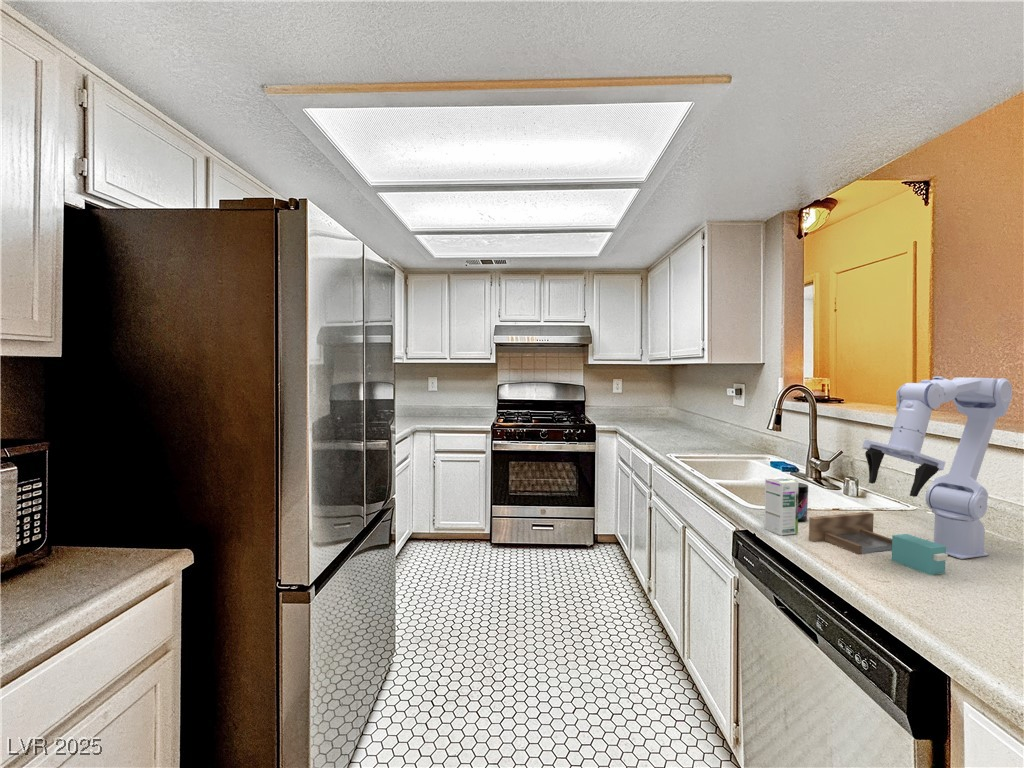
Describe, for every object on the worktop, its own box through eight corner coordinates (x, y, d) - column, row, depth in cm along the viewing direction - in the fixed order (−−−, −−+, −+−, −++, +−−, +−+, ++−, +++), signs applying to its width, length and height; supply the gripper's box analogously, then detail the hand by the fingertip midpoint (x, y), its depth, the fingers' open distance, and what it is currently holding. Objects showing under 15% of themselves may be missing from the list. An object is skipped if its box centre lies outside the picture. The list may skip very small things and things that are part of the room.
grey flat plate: (860, 537, 123) (860, 532, 123) (895, 549, 115) (895, 544, 115) (828, 540, 120) (828, 536, 120) (861, 553, 112) (861, 548, 112)
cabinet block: (905, 558, 110) (906, 533, 109) (949, 574, 101) (950, 547, 101) (891, 560, 108) (892, 535, 108) (934, 577, 100) (935, 549, 100)
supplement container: (787, 522, 135) (788, 486, 135) (776, 514, 142) (777, 481, 142) (812, 523, 134) (813, 487, 134) (799, 515, 141) (801, 481, 141)
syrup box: (781, 536, 123) (782, 482, 123) (763, 528, 129) (764, 477, 129) (798, 534, 125) (799, 481, 125) (780, 527, 131) (781, 476, 130)
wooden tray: (867, 533, 126) (868, 511, 126) (909, 548, 116) (910, 524, 116) (808, 540, 121) (809, 517, 121) (847, 555, 111) (848, 530, 110)
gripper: (875, 419, 105) (859, 475, 103) (957, 440, 98) (941, 501, 97) (866, 424, 111) (850, 478, 110) (942, 445, 105) (926, 502, 103)
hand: (892, 489), depth 104 cm, fingers open, 7 cm apart
